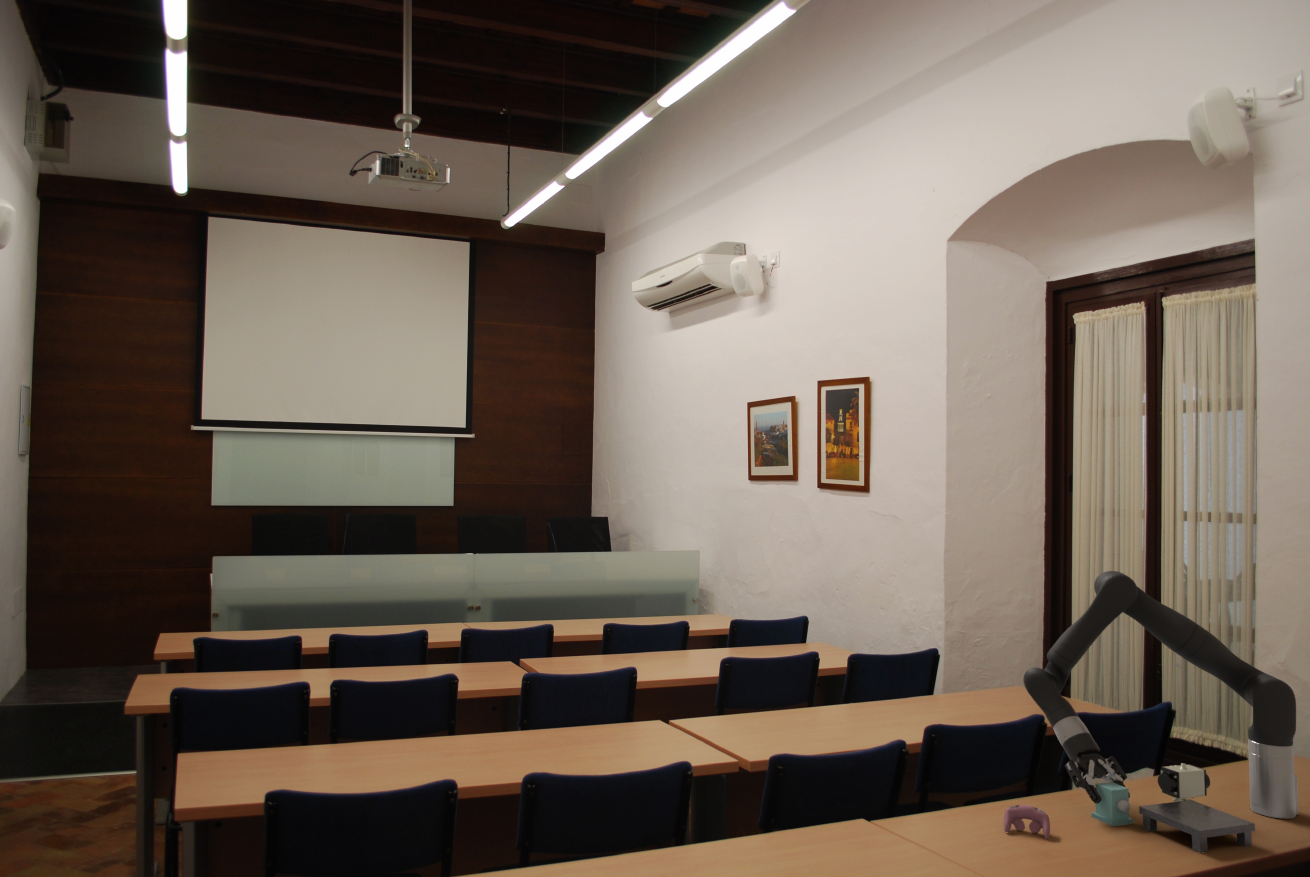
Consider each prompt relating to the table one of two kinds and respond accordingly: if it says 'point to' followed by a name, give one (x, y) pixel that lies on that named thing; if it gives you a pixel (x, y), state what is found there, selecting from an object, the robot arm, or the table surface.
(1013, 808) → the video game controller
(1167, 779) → the pneumatic valve
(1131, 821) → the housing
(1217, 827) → the stand
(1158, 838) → the table surface
